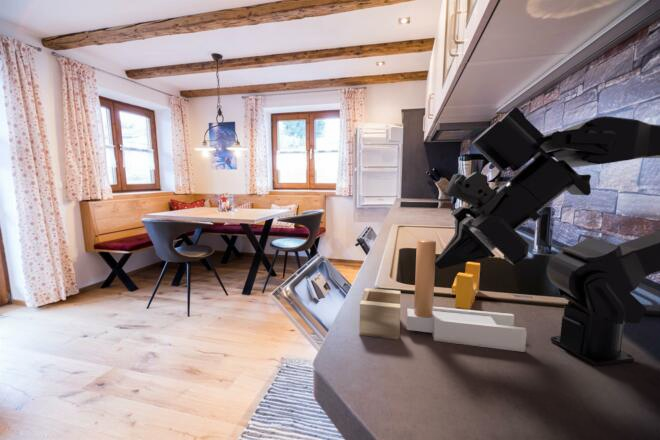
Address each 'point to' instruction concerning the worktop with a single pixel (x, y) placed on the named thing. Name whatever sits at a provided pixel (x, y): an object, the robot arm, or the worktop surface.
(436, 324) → the sleeve
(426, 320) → the slide bolt
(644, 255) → the robot arm
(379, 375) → the worktop surface
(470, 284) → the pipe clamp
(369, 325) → the socket
